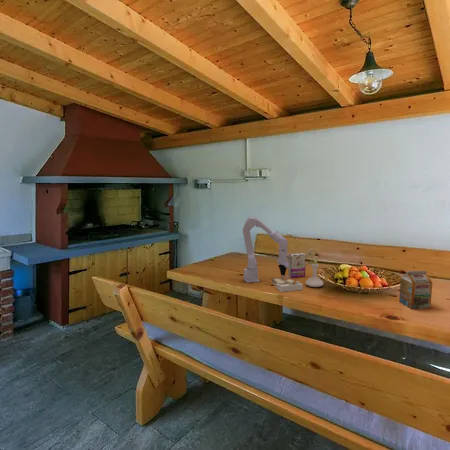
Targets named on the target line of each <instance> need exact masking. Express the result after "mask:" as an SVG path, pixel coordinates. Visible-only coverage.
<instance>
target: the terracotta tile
mask: <svg viewBox="0 0 450 450" xmlns="http://www.w3.org/2000/svg"><path fill="white" fill-rule="evenodd" d="M280 278H282V279H283V280H288V279H291V278H290V276H289V275H288V274H285V275H281V274H280Z"/></svg>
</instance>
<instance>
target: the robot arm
mask: <svg viewBox="0 0 450 450" xmlns="http://www.w3.org/2000/svg"><path fill="white" fill-rule="evenodd" d="M254 227H256V228H260V229H261V230H263V231H265V232H266V233H267V234H268V235H269V238H270V239H272V241H273V242H275V243H276V244H278V259H276V261H277V262H276V263H277V266H278V269H279V272H280V276H281V275H286V272H287V270H288V268H289V265H288V263H289V262H288V245H289V242H288V239H286V238H285V237H284V235H281V234H280V233H279V231H278V230H272V229H271V228H270V227H269V226H268V225H267V224H266V223H264V222H263V221H262V220H261V219H259V218H257V216H254V215H251V216H249V217H248V218H247V219H246V221H245V223H244V226H243V228H242V234H243V238H244V244H245V249H246V254H247V266H246V267H245V268H244V269H243V278H242V279H243V281H244V282H246V283H256V282H257V283H258V282H260V279H259V272H258V271H259V270H258V269H259V268H258V266H257V265H258V259H257V258H256V256H255V252H254V247H253V242H252V236H251V230H252V229H253V228H254Z"/></svg>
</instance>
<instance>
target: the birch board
mask: <svg viewBox="0 0 450 450" xmlns="http://www.w3.org/2000/svg"><path fill="white" fill-rule="evenodd" d="M276 283H278V284H280V285H285V284H287V285H296V281H295V280H293V278H290V279H288V280H283V279H282V278H281V277H277V278H276V277H275V278H271V284H272V285H273V286H275V287H276Z"/></svg>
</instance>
